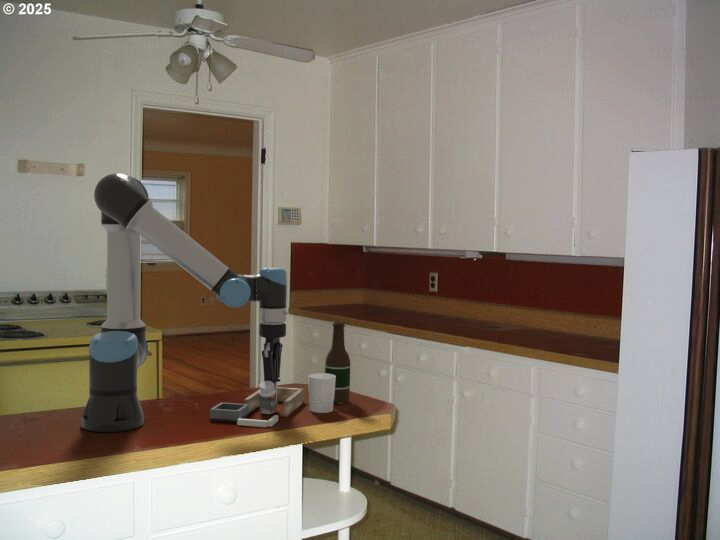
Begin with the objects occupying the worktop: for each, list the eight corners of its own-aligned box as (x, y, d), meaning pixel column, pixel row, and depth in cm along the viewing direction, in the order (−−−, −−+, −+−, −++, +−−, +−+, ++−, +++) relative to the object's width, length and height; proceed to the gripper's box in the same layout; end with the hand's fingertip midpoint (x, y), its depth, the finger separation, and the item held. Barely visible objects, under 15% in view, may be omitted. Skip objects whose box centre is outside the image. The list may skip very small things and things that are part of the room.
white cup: (340, 409, 210) (341, 375, 209) (324, 415, 203) (325, 379, 203) (318, 405, 214) (318, 372, 214) (301, 410, 208) (302, 376, 207)
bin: (210, 420, 195) (210, 409, 194) (220, 413, 202) (221, 402, 202) (238, 422, 193) (238, 411, 193) (248, 415, 201) (248, 404, 201)
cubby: (244, 413, 203) (244, 399, 202) (263, 399, 220) (264, 386, 220) (287, 416, 201) (287, 402, 200) (303, 402, 218) (303, 388, 218)
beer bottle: (321, 403, 217) (323, 323, 216) (326, 397, 225) (328, 320, 223) (346, 405, 216) (349, 324, 214) (351, 399, 223) (353, 321, 222)
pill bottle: (274, 415, 201) (272, 390, 198) (257, 414, 202) (255, 388, 199) (279, 405, 206) (277, 380, 202) (263, 404, 206) (261, 379, 203)
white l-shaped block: (237, 425, 191) (237, 419, 191) (246, 418, 197) (246, 412, 197) (270, 427, 189) (270, 421, 189) (278, 420, 196) (278, 415, 196)
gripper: (279, 326, 198) (278, 411, 200) (291, 320, 211) (290, 400, 212) (252, 325, 199) (251, 410, 201) (266, 319, 212) (265, 399, 214)
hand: (271, 405), depth 207 cm, fingers closed
